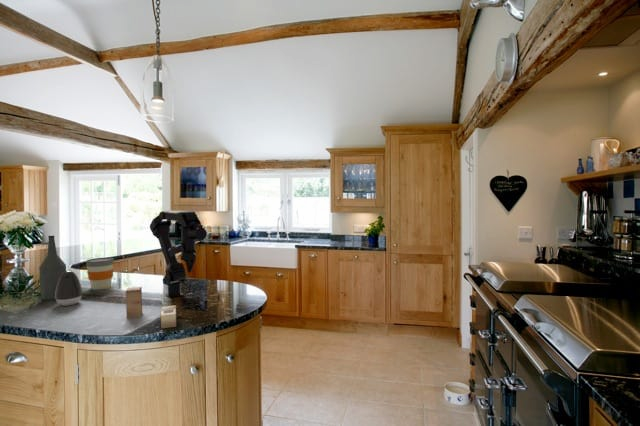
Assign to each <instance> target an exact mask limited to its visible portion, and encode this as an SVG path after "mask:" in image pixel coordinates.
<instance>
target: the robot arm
mask: <svg viewBox="0 0 640 426" xmlns="http://www.w3.org/2000/svg"><path fill="white" fill-rule="evenodd" d="M172 221H175V222H177V223H178V224H180V226H179V227H178V229H180V231H181V241H180V244H178V245H172V242H171V239H170V236H169V234H170V231H171V226H172ZM201 223H202V222H201V221H200V219H199V217H198V215H197V213H196V212H195V211H193V210H191V211H179V212H178V211H170V210H162V211H160V212H159V214H158V215H157V216H156V217H154V218H153V219H152V220H151V222H150V224H149V230H150V231H151V233H152V236H154V237H156V239H158V240H157V241H158V242H159V246H160V247H161V252H162V254H163V257H164V259H165V263H166V267H165V271H164V272H165V275H164V277H163V278H162V284H163V285H166V286H167V293H166V294H165V297H167V298H170V299H172V298H177V297H181V296H184V293H182V290H181V289H182V288H181V283H185V281H186V278H187V277H186V276H187V273H192V270H193V267H194V264H195V261H196V259H197V249H196V241H203V240H205V239H206V238H207V236H208V232H207V230H206V229H205V228H204V227H203V224H201ZM177 254H181V255H180V261H182V262H179V261H178V260H177V256H176V255H177ZM183 261H184V262H185V266H186V269H187V272H186V269H185V266H184V263H183Z"/></svg>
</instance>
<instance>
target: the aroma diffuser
mask: <svg viewBox="0 0 640 426" xmlns="http://www.w3.org/2000/svg"><path fill="white" fill-rule="evenodd" d="M83 294H84V293H83V288H82V285H81V283H80V280H79V278H78V276H77V274H76V273H75V272H74V271H72V270H66V271H65V272H63V273H62V274H61V276H60V277H59V280H58V282H57V286H56V291H55V299H54V300H55V301H56V303H57V304H58V305H59V306H63V307H64V306H65V307H67V306H73V305H76V304H78V303H79V302H80V301H81V299H82V296H83Z"/></svg>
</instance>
